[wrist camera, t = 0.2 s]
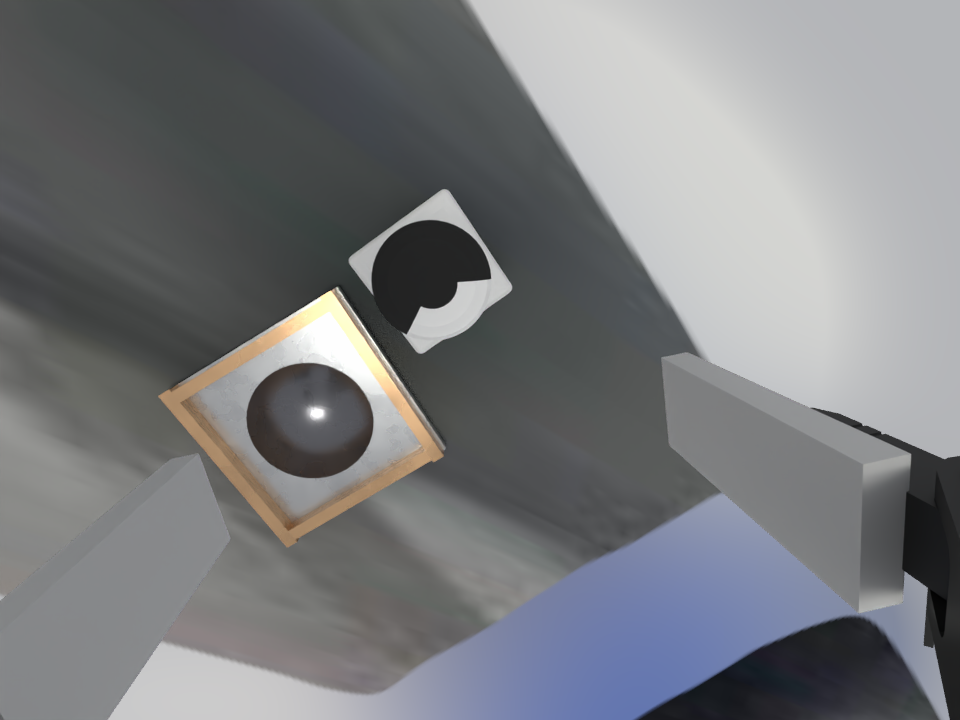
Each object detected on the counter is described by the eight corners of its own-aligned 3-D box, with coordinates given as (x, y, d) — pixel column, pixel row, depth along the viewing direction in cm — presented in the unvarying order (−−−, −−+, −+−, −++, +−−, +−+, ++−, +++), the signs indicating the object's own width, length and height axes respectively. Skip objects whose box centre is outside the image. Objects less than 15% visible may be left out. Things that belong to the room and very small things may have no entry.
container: (362, 254, 37) (326, 265, 25) (443, 195, 36) (448, 175, 24) (421, 333, 39) (416, 381, 27) (499, 279, 39) (531, 300, 26)
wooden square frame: (170, 388, 38) (155, 397, 36) (339, 285, 37) (333, 288, 35) (292, 533, 42) (284, 549, 40) (445, 443, 42) (446, 454, 40)
